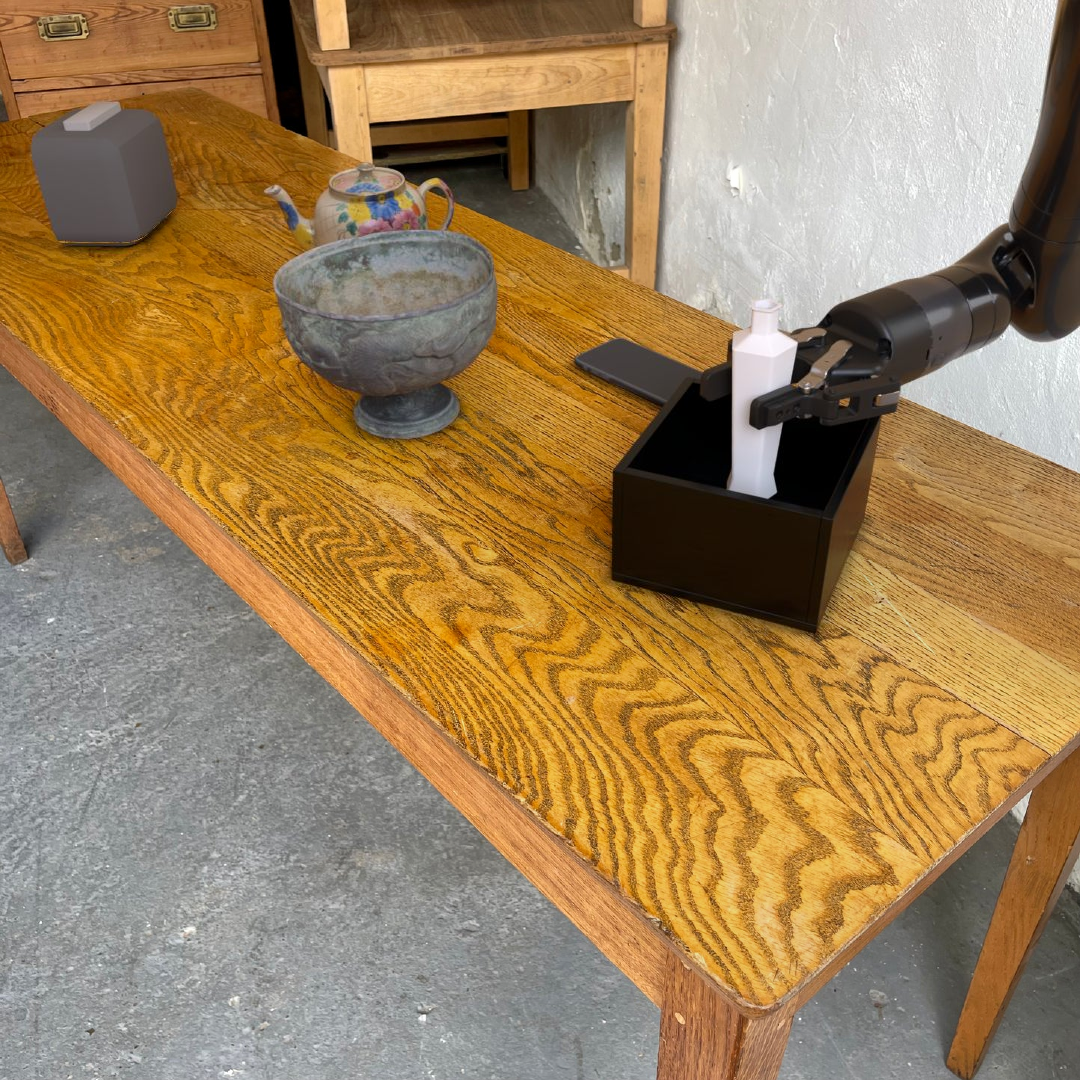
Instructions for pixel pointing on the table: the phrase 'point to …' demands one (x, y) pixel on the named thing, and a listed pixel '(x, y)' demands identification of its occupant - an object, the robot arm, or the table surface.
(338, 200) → the teapot
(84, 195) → the alarm clock
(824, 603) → the open box
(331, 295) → the bowl
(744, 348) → the perfume bottle
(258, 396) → the table surface
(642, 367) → the smartphone
